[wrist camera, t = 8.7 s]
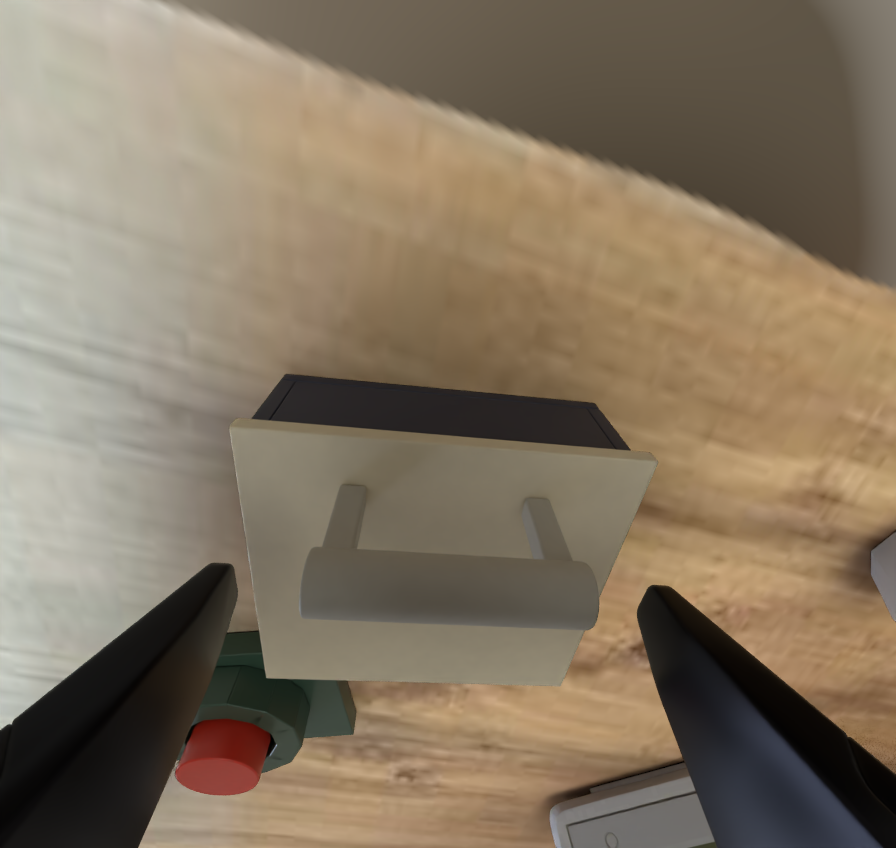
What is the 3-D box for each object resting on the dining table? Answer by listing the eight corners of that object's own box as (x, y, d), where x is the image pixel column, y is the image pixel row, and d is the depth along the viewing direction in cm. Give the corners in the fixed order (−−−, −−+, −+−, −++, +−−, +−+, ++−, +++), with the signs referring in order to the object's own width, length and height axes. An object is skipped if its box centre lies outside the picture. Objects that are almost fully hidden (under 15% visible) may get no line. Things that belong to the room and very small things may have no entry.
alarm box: (186, 724, 25) (157, 788, 22) (128, 640, 21) (84, 705, 18) (356, 711, 25) (348, 773, 22) (331, 625, 21) (317, 687, 18)
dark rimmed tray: (284, 373, 14) (239, 432, 11) (595, 402, 15) (643, 465, 12) (299, 577, 19) (270, 664, 16) (534, 588, 20) (556, 672, 17)
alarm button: (208, 755, 21) (191, 798, 20) (182, 717, 20) (161, 762, 18) (279, 750, 21) (267, 792, 20) (259, 711, 20) (245, 756, 18)
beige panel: (236, 416, 11) (138, 533, 7) (650, 451, 12) (749, 569, 8) (270, 665, 16) (223, 806, 12) (557, 673, 17) (592, 806, 13)
